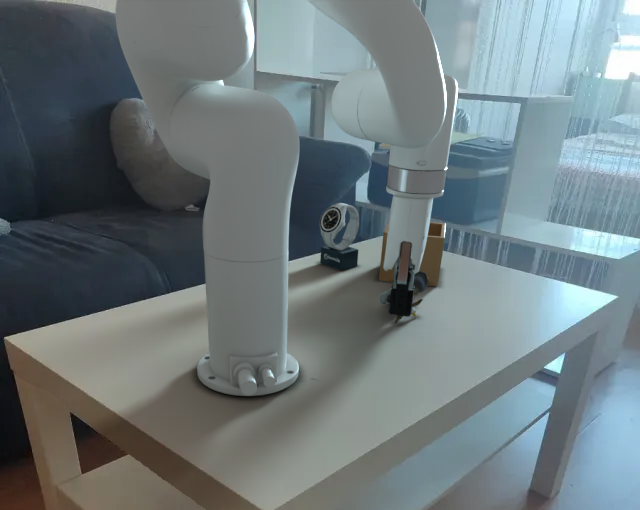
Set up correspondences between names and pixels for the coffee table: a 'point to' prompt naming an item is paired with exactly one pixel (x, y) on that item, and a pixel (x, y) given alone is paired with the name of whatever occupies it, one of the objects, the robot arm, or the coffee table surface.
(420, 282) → the eagle figurine
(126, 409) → the coffee table surface
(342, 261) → the watch
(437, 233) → the box
